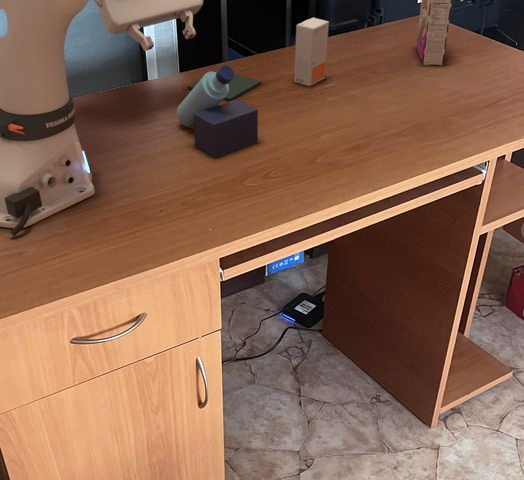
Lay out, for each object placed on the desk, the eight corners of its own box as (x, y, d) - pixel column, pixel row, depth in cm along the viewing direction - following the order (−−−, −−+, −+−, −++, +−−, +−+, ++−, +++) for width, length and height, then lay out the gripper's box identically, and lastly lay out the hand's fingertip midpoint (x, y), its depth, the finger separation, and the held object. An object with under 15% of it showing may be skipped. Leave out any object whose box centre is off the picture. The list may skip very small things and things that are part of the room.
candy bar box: (414, 48, 183) (423, -28, 172) (435, 48, 183) (446, -28, 172) (420, 66, 174) (431, -13, 164) (443, 66, 174) (455, -12, 164)
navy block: (194, 146, 143) (193, 113, 139) (237, 131, 148) (236, 99, 144) (214, 158, 140) (213, 124, 136) (257, 142, 145) (257, 109, 141)
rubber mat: (230, 101, 159) (230, 98, 159) (187, 88, 164) (187, 86, 163) (260, 84, 166) (261, 81, 166) (219, 72, 171) (219, 69, 170)
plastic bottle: (173, 124, 150) (168, 48, 141) (195, 117, 153) (191, 41, 144) (220, 151, 142) (218, 72, 133) (242, 143, 145) (242, 65, 135)
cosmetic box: (310, 87, 165) (312, 28, 157) (293, 82, 167) (295, 24, 159) (326, 78, 168) (329, 20, 161) (309, 73, 170) (312, 16, 163)
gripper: (91, -27, 136) (128, 46, 136) (187, -47, 146) (221, 21, 146) (81, -6, 141) (117, 64, 142) (174, -26, 151) (207, 39, 152)
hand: (170, 42), depth 144 cm, fingers open, 8 cm apart
